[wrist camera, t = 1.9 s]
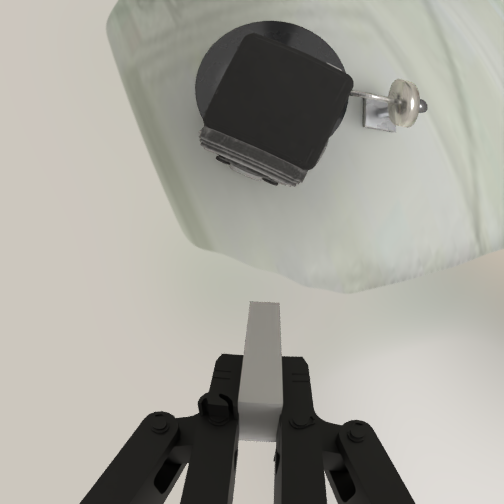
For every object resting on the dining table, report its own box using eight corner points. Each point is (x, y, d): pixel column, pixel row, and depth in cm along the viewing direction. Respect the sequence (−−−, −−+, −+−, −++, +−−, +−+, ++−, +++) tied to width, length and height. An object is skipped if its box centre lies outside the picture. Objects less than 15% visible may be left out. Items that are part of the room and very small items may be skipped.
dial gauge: (327, 88, 28) (357, 63, 17) (393, 100, 28) (446, 87, 17) (326, 123, 30) (357, 114, 19) (392, 133, 30) (445, 134, 18)
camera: (211, 148, 32) (168, 157, 18) (248, 70, 28) (232, 21, 14) (292, 184, 33) (309, 219, 19) (330, 107, 29) (375, 86, 15)
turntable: (199, 23, 26) (199, 23, 26) (347, 29, 25) (347, 29, 25) (194, 158, 33) (193, 158, 32) (345, 165, 32) (345, 165, 31)
